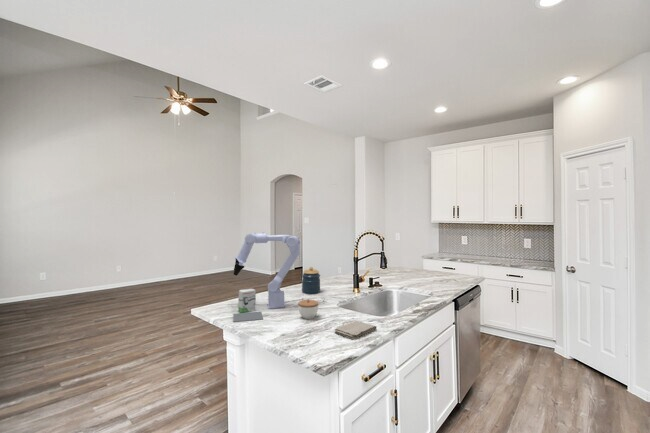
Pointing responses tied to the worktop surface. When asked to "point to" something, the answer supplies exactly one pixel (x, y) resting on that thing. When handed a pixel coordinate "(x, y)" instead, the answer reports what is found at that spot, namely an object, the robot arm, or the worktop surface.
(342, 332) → the washcloth
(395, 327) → the worktop surface
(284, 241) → the robot arm
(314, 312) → the lidded jar
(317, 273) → the canister
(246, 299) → the ink box
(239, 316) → the mat
